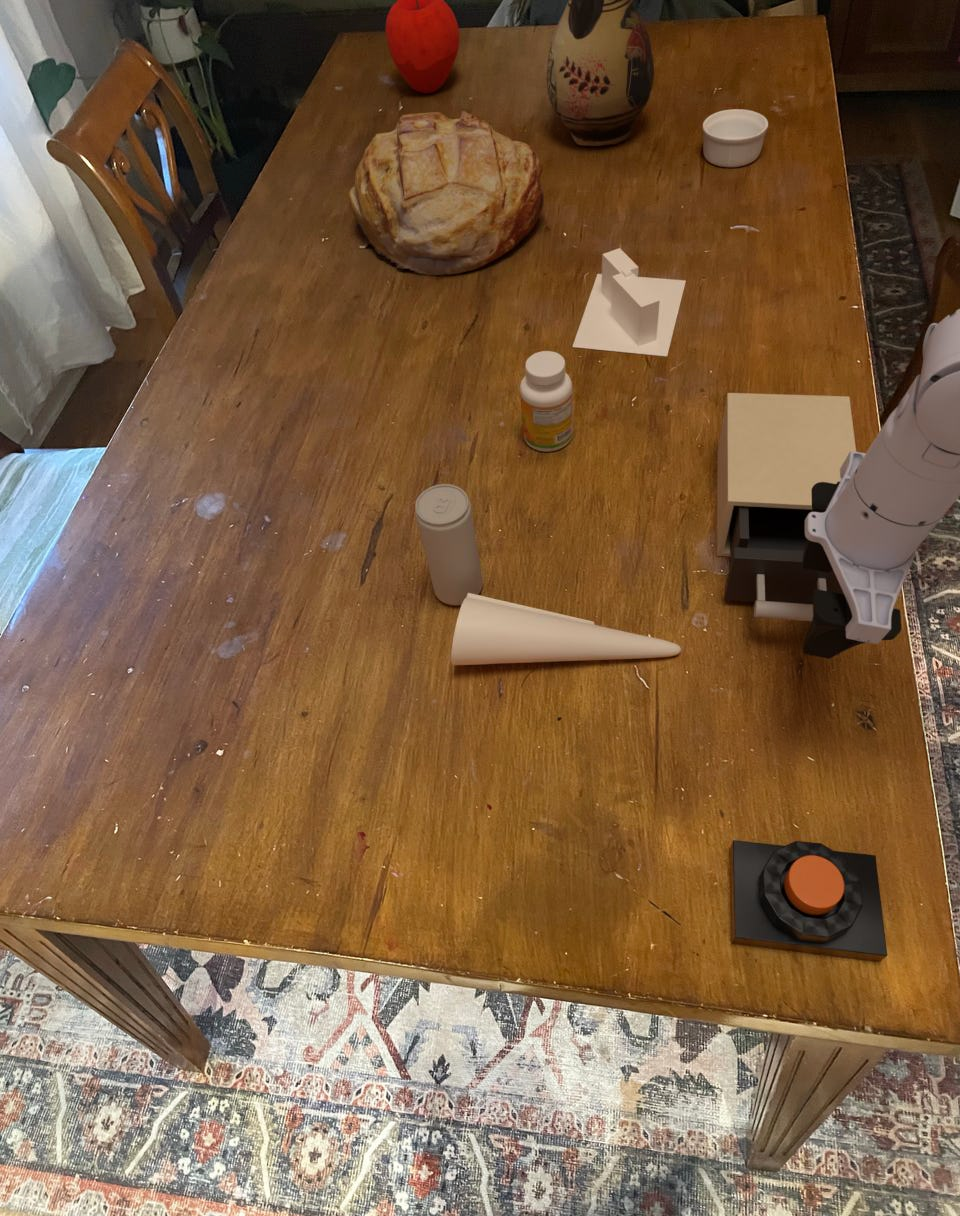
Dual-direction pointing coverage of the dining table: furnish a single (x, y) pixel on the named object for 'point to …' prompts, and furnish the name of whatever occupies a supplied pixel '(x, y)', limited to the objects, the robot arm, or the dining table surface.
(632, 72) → the ceramic jug
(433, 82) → the apple
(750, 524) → the drawer
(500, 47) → the dining table surface
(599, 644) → the long cone
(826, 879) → the button
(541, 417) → the supplement bottle
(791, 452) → the cabinet
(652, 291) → the napkin holder
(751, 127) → the ramekin
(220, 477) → the dining table surface
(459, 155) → the bread
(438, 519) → the beverage can
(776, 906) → the panel
